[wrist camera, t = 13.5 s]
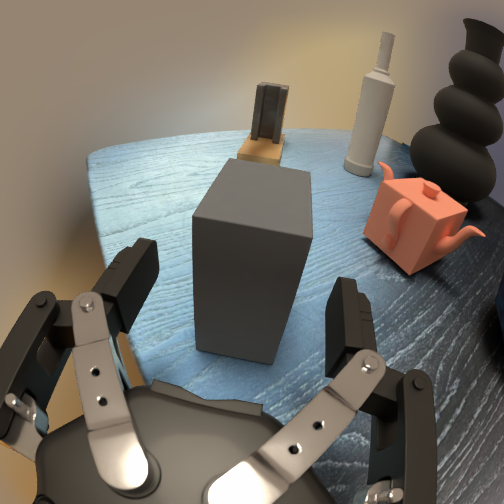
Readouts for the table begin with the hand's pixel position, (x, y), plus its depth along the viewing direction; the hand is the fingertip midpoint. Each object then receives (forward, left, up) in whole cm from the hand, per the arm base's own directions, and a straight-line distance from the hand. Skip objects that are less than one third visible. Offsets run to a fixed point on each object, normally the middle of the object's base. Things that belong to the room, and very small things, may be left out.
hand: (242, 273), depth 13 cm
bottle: (+5, +41, -8) cm, 42 cm away
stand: (-11, +39, -8) cm, 41 cm away
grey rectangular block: (-1, +4, -8) cm, 9 cm away
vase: (+23, +46, -8) cm, 52 cm away
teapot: (+12, +20, -8) cm, 25 cm away
